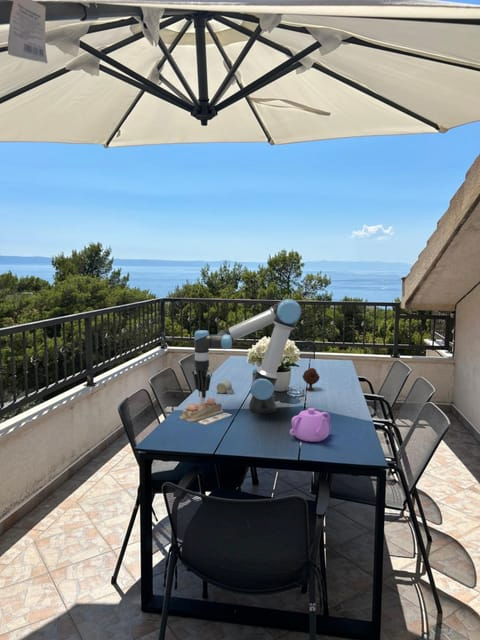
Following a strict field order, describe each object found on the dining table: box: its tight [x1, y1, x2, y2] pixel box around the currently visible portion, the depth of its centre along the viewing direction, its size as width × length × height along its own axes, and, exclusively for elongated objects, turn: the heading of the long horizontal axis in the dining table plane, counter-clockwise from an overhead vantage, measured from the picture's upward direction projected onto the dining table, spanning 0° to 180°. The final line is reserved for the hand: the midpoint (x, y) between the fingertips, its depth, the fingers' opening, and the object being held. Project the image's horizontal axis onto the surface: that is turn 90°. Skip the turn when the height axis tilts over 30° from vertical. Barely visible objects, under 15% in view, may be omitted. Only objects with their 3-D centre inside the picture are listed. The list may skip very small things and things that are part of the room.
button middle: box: [196, 403, 206, 409], centre depth 246 cm, size 5×5×4 cm
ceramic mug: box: [216, 379, 235, 395], centre depth 291 cm, size 11×8×8 cm
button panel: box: [178, 401, 224, 423], centre depth 246 cm, size 10×23×4 cm, turn 140°
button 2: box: [206, 397, 216, 406], centre depth 251 cm, size 5×5×4 cm
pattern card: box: [197, 412, 232, 426], centre depth 240 cm, size 5×20×1 cm, turn 140°
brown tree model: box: [302, 367, 320, 392], centre depth 299 cm, size 11×11×15 cm
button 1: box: [187, 403, 198, 412], centre depth 240 cm, size 5×5×4 cm
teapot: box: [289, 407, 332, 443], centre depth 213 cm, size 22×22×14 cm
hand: (202, 403), depth 246 cm, fingers closed
